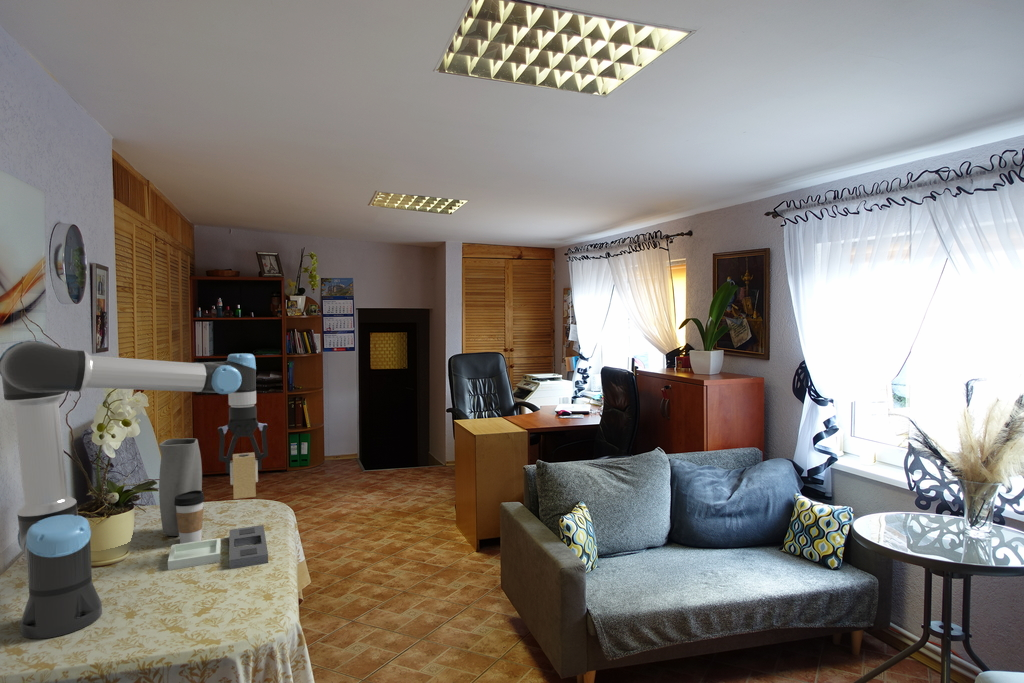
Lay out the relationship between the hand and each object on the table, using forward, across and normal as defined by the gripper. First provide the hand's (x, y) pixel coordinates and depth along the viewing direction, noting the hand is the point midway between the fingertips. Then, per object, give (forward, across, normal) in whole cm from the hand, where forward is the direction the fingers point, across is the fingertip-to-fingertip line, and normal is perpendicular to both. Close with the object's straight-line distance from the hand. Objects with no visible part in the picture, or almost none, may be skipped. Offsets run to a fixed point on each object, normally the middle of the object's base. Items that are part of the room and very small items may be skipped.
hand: (244, 482), depth 181 cm
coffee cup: (+21, +15, -15) cm, 30 cm away
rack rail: (+21, -1, 0) cm, 21 cm away
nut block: (+4, 0, 0) cm, 4 cm away
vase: (+21, +18, -24) cm, 37 cm away
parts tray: (+21, +13, 0) cm, 25 cm away
